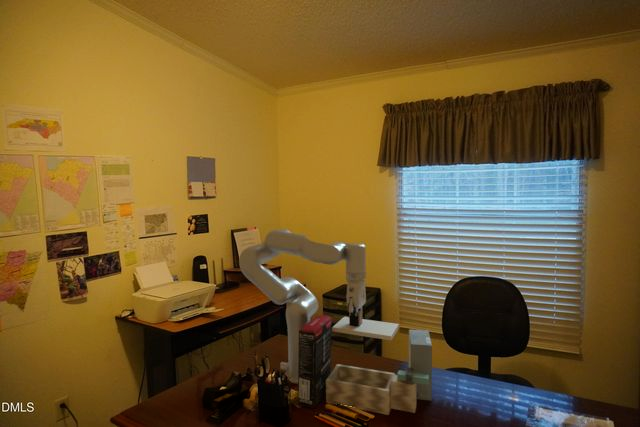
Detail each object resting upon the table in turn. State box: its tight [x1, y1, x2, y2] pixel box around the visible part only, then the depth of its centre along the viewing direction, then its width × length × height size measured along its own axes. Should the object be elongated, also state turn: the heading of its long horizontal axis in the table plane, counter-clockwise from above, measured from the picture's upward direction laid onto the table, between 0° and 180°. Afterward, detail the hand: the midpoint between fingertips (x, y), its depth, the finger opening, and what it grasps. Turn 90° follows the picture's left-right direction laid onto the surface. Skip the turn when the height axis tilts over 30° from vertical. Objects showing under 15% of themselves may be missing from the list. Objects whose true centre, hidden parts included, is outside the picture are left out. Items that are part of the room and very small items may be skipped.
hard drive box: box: [408, 329, 433, 401], centre depth 135 cm, size 16×8×20 cm, turn 168°
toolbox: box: [325, 363, 417, 416], centre depth 128 cm, size 30×13×13 cm, turn 69°
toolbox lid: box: [331, 309, 400, 341], centre depth 136 cm, size 22×13×6 cm, turn 66°
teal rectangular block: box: [396, 369, 429, 385], centre depth 123 cm, size 10×3×2 cm, turn 69°
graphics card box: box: [297, 314, 332, 409], centre depth 132 cm, size 17×7×27 cm, turn 159°
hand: (355, 323), depth 138 cm, fingers closed on toolbox lid, 3 cm apart
